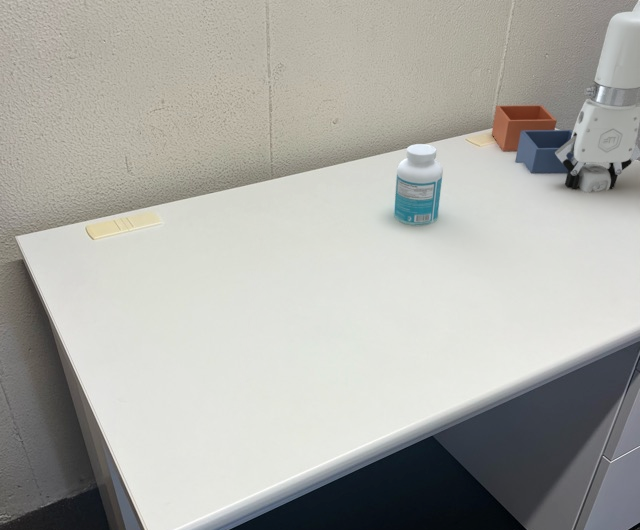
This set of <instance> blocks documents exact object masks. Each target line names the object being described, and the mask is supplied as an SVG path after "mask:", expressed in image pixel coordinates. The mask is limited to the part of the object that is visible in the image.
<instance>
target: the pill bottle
mask: <svg viewBox="0 0 640 530" xmlns="http://www.w3.org/2000/svg"><path fill="white" fill-rule="evenodd" d="M405 155H406V158H404V159H402V160H401V161H400V162H399V163H398V164H397V168H396V177H395V178H396V180H395V194H394V211H393V216H394V218H395V219H396V220H397V221H398V222H400V223H402V224H405V225H407V226H414V227H418V226H419V227H420V226H429V225H431V224H434V223H435V222H436V221H437V220H438V217H439V209H440V201H441V200H440V199H441V190H442V184H443V183H442V181H443V174H444V173H443V172H444V169H443V166H442V164H441V163H440V162H439V161H438V160H437V159H436V158H437V148H436V147H435V146H434V145H431V144H426V143H415V144H411V145H409V146H408V147H407V148H406V154H405Z"/></svg>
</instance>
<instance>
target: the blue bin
mask: <svg viewBox="0 0 640 530" xmlns="http://www.w3.org/2000/svg"><path fill="white" fill-rule="evenodd" d="M572 133H573V130H572V129H555V130H527V131H521V134H520V139H519V145H518V150H517V151H516V156H515V159H514V160H515V161H514V162H515V164H523V165H524V166H525V167H526V168H527V170H528V171H529V173H530V174H568V170H567V168H566V167H565V166H564V165H563V163H562V162H561V161H560V160H559V159H558V158H557V156H556V155H555V152H556V151H557V150H558V149H559V148H560V147H562V146H563V145H564V144H565V143H566V142H568V141H569V140H570V139H571V136H572ZM573 155H574V154H571V153H570V152H569V153H567V155H566V156H567V158H568V159H569V160H571V158H572V157H573ZM584 164H587V163H584Z"/></svg>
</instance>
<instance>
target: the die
mask: <svg viewBox="0 0 640 530" xmlns="http://www.w3.org/2000/svg"><path fill="white" fill-rule="evenodd" d="M607 169H608V168H606V167H605V166H603V165H600V164H597V163H586V164H584V165H583V166H582V168H581V169H580V171H579V172H578V175H579V176H580V179H579V182H578V186H577V188H579V190H581V191H582V192H583V193H591V192H594V193H595V192H601V191H604V190H605V191H609V190H610V189H609V187H610V184H611V176H610V173H609V171H608V170H607Z"/></svg>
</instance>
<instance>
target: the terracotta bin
mask: <svg viewBox="0 0 640 530" xmlns="http://www.w3.org/2000/svg"><path fill="white" fill-rule="evenodd" d="M494 111H495V112H494V117H493V123H492V130H491V136H492V135H493V136H494V137H493V136H492V137H493V139H494V138H495V139H496V140H497V142H496V143H497V144H498V146H499V148H500V149H501V150H502V152H517V150H518V145H519V139H520V134H521V131H527V130H556V125H557V121H558V120H557V119H556V118H555V117H554V116H553V115H552V114H551V113H550V112H549V111H548V109H546V107H544V105H542V104H525V105H524V104H523V105H522V104H521V105H517V104H516V105H515V104H514V105H512V104H511V105H510V104H509V105H496V107H495V110H494ZM495 139H494V140H495ZM496 140H495V141H496Z"/></svg>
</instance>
